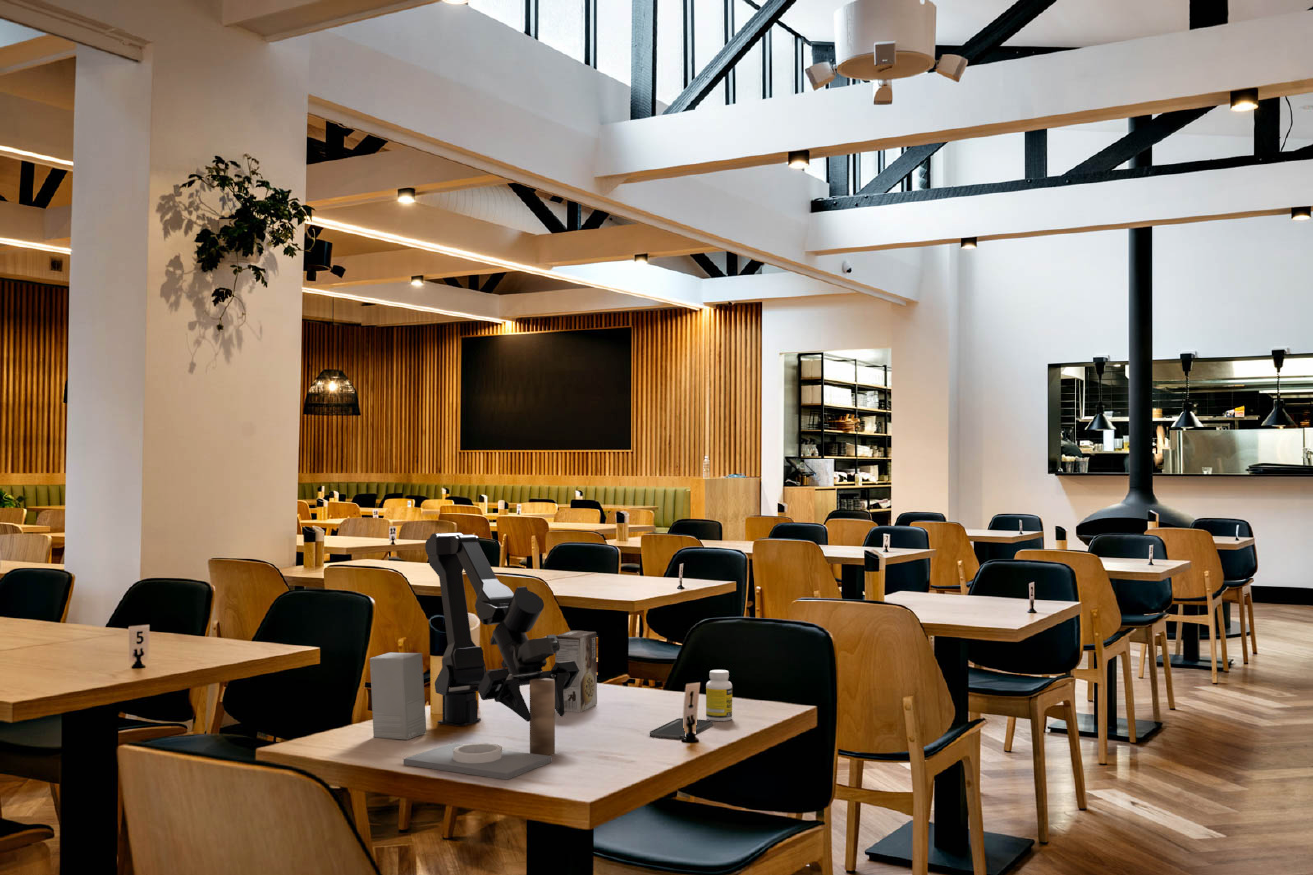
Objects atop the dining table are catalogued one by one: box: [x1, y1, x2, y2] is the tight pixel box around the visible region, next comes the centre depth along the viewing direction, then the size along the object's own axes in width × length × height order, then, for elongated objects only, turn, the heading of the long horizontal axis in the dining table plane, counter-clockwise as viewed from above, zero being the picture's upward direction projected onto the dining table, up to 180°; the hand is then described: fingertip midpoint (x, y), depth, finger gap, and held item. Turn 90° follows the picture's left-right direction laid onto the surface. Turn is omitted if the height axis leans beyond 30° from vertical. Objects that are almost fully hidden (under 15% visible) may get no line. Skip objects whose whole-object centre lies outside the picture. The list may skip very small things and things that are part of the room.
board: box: [403, 742, 553, 781], centre depth 188 cm, size 22×13×2 cm, turn 62°
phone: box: [649, 717, 714, 741], centre depth 213 cm, size 8×1×15 cm
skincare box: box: [369, 652, 427, 741], centre depth 210 cm, size 8×7×16 cm
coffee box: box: [554, 630, 598, 713], centre depth 236 cm, size 9×6×16 cm
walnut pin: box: [529, 678, 556, 756], centre depth 195 cm, size 4×4×13 cm
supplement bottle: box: [705, 669, 733, 722], centre depth 223 cm, size 5×5×10 cm
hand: (546, 717), depth 194 cm, fingers open, 7 cm apart
